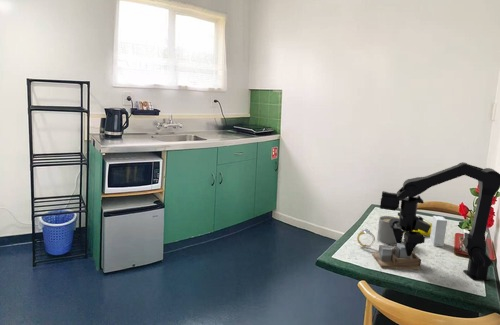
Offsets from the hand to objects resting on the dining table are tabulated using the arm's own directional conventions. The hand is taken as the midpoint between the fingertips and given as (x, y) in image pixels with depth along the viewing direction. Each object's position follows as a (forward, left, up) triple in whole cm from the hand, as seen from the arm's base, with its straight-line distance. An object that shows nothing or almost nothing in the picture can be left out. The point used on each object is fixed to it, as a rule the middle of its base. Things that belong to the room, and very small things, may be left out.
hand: (403, 250), depth 137 cm
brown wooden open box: (0, +2, -5) cm, 5 cm away
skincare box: (+20, -24, -5) cm, 31 cm away
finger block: (0, 0, -4) cm, 4 cm away
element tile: (+37, -21, -5) cm, 43 cm away
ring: (+13, +10, -5) cm, 17 cm away
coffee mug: (+23, -4, -5) cm, 24 cm away
